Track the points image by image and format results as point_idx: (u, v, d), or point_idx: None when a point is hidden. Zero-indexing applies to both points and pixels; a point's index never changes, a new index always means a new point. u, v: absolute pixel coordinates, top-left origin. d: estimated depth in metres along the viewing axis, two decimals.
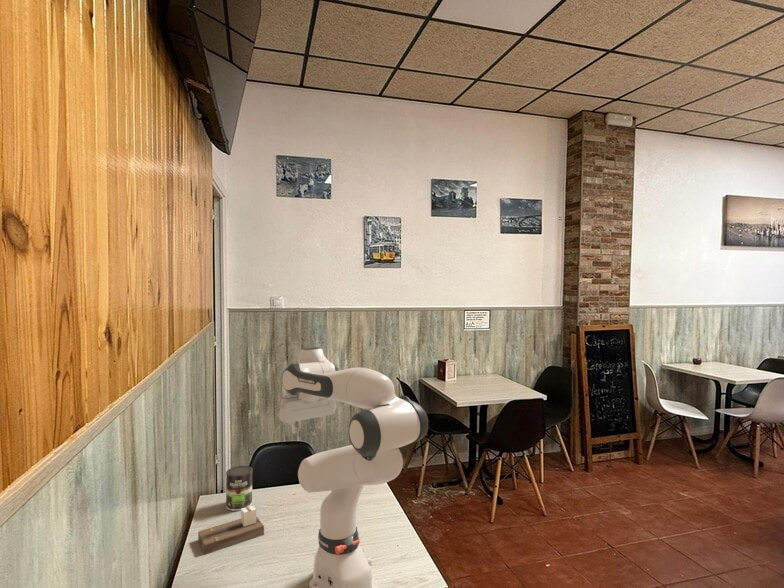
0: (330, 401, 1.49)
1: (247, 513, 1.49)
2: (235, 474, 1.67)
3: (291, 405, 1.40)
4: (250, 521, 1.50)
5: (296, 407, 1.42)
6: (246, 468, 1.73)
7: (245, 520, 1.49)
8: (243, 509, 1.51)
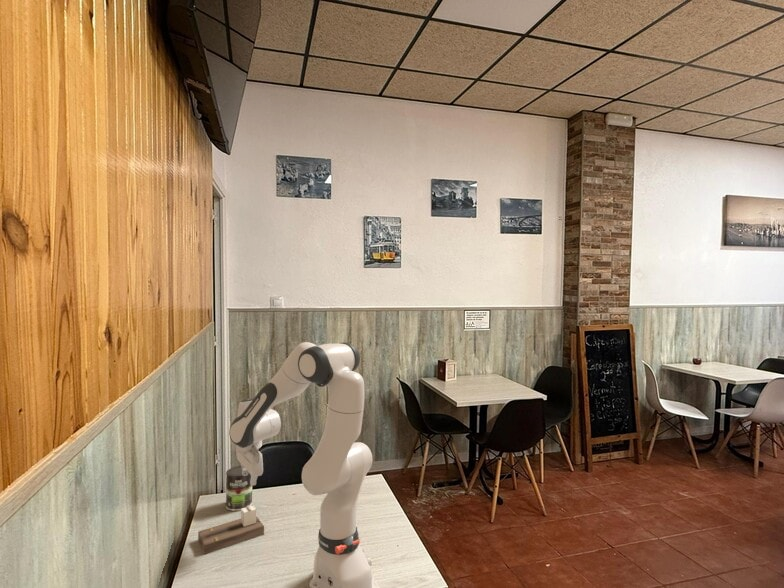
0: None
1: (247, 513, 1.49)
2: (235, 474, 1.67)
3: None
4: (250, 521, 1.50)
5: None
6: None
7: (245, 520, 1.49)
8: (243, 509, 1.51)
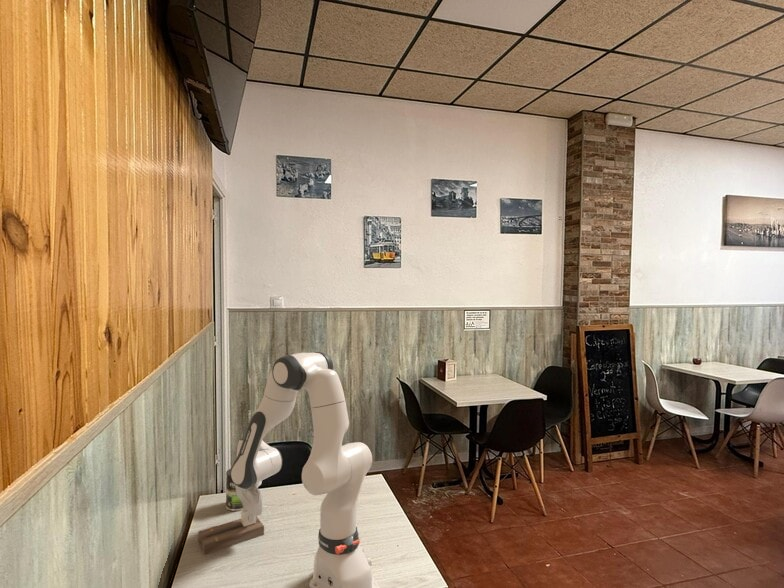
0: None
1: (247, 513, 1.49)
2: None
3: None
4: None
5: None
6: None
7: (245, 520, 1.49)
8: (243, 509, 1.51)
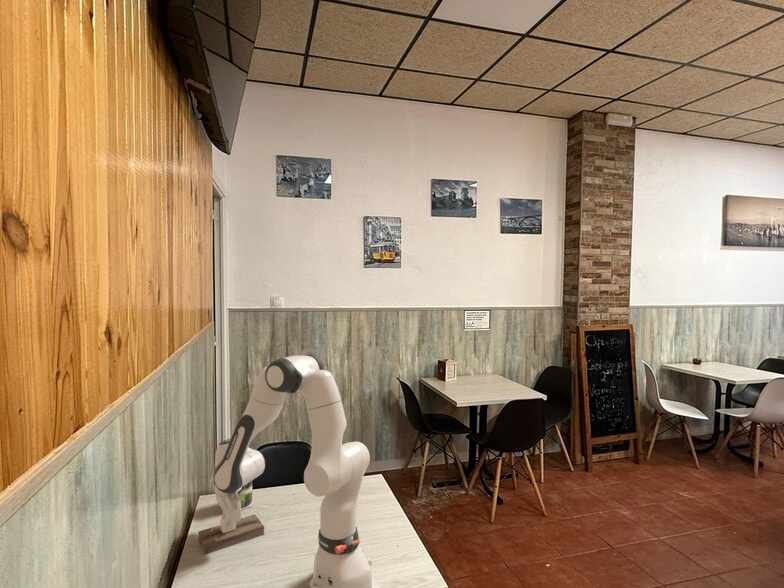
0: None
1: (226, 519, 1.45)
2: None
3: None
4: None
5: None
6: None
7: (224, 526, 1.44)
8: (222, 515, 1.46)
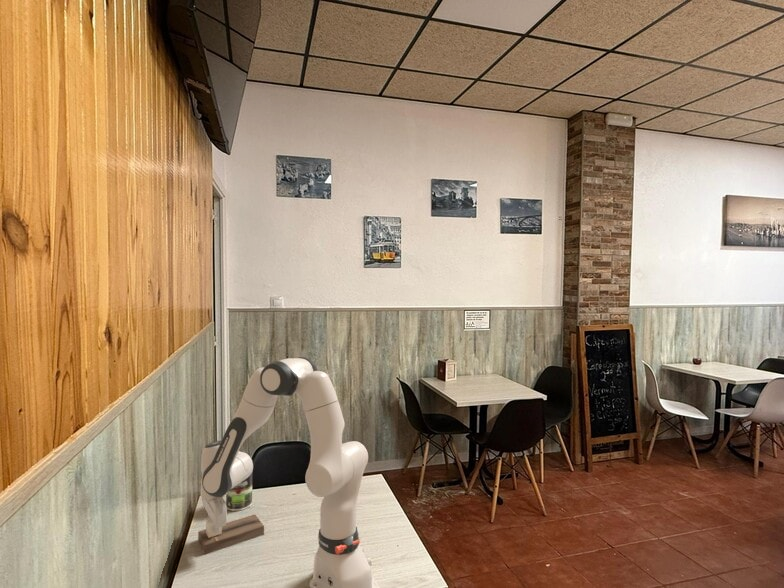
0: None
1: (212, 524, 1.42)
2: None
3: None
4: None
5: None
6: None
7: (210, 531, 1.42)
8: (208, 519, 1.44)
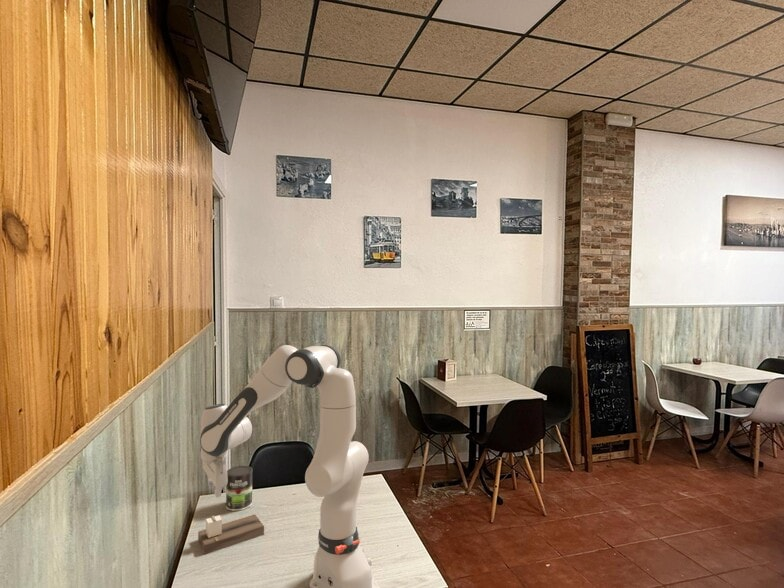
0: None
1: (211, 524, 1.42)
2: (235, 474, 1.67)
3: None
4: (215, 532, 1.43)
5: None
6: (246, 468, 1.73)
7: (209, 531, 1.41)
8: (208, 519, 1.43)
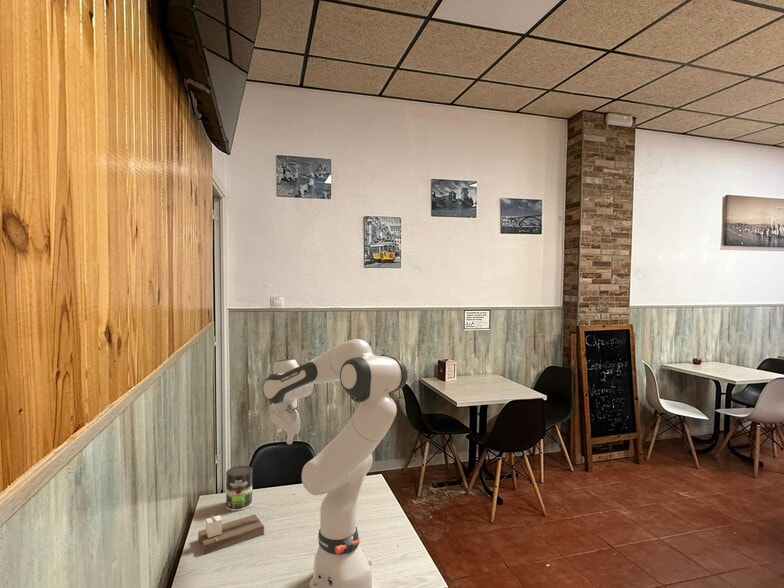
0: None
1: (211, 524, 1.42)
2: (235, 474, 1.67)
3: None
4: (215, 532, 1.43)
5: None
6: (246, 468, 1.73)
7: (209, 531, 1.41)
8: (208, 519, 1.43)
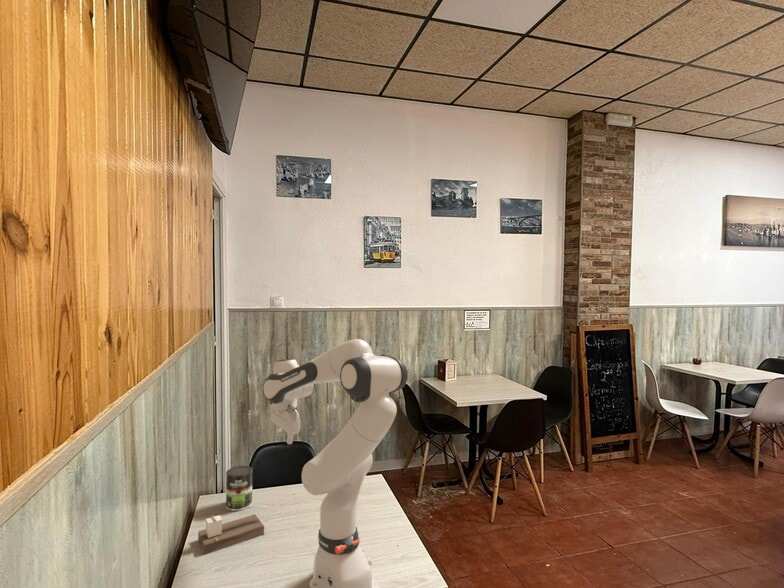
0: None
1: (211, 524, 1.42)
2: (235, 474, 1.67)
3: None
4: (215, 532, 1.43)
5: None
6: (246, 468, 1.73)
7: (209, 531, 1.41)
8: (208, 519, 1.43)
